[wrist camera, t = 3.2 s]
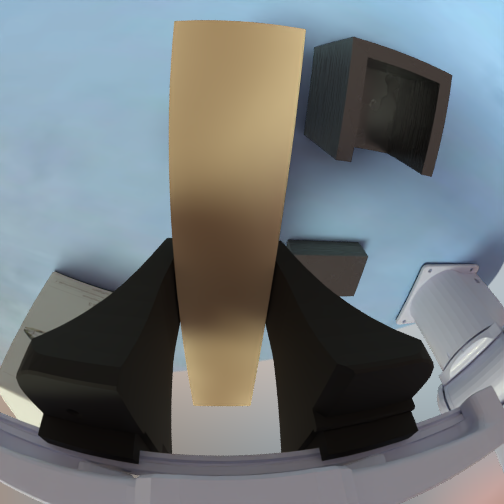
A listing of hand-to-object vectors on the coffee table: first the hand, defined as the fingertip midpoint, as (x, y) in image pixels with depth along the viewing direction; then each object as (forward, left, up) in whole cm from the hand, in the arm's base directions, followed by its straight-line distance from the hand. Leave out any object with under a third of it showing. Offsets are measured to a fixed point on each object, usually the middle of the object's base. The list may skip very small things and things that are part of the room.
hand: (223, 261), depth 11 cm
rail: (0, 0, -2) cm, 2 cm away
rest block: (-8, +7, -9) cm, 14 cm away
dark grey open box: (-8, -6, -9) cm, 14 cm away
